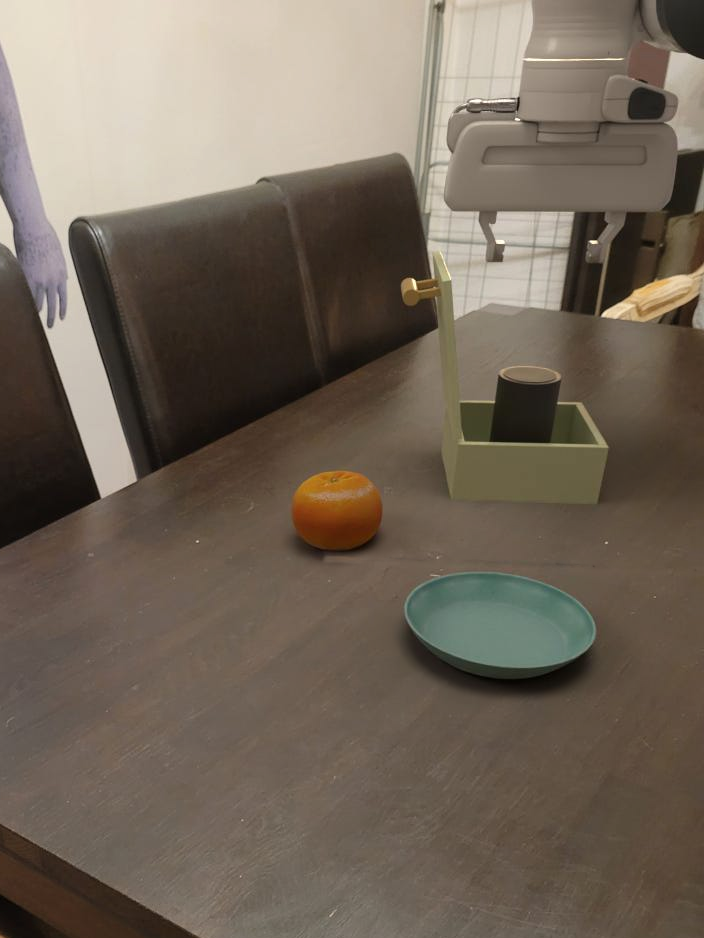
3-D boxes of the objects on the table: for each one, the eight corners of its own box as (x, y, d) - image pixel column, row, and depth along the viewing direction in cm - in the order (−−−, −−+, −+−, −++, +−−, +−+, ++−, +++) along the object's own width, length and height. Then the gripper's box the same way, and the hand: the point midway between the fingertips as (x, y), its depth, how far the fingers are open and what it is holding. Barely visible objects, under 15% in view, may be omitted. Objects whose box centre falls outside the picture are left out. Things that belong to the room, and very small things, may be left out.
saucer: (566, 717, 68) (573, 687, 67) (373, 664, 75) (376, 635, 73) (607, 622, 79) (613, 594, 78) (435, 582, 85) (438, 556, 84)
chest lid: (440, 250, 99) (397, 258, 99) (451, 279, 87) (402, 287, 88) (450, 395, 106) (410, 401, 107) (462, 439, 95) (417, 445, 96)
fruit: (317, 479, 97) (327, 433, 89) (389, 522, 95) (406, 479, 88) (271, 539, 94) (278, 497, 87) (345, 584, 92) (359, 545, 85)
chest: (570, 460, 109) (581, 402, 105) (596, 510, 97) (609, 447, 94) (440, 457, 110) (446, 399, 107) (450, 506, 99) (457, 444, 95)
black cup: (539, 465, 106) (555, 365, 100) (548, 487, 101) (566, 384, 95) (482, 463, 106) (495, 364, 100) (488, 486, 101) (502, 383, 95)
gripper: (453, 100, 83) (436, 267, 91) (698, 98, 81) (660, 269, 89) (447, 96, 89) (432, 254, 96) (677, 94, 86) (643, 256, 94)
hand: (543, 261), depth 92 cm, fingers open, 8 cm apart
